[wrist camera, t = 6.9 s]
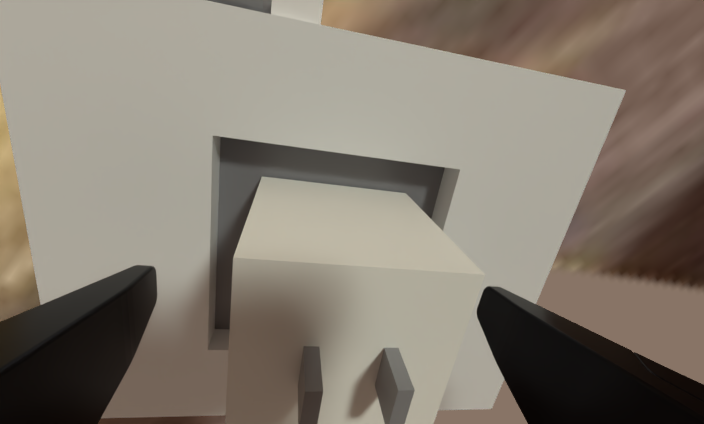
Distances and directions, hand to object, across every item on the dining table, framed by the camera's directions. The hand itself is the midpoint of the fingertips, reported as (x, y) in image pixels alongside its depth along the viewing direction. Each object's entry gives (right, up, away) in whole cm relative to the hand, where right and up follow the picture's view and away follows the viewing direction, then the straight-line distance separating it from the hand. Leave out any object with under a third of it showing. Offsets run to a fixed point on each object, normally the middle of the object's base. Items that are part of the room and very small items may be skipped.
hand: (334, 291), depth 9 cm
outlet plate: (0, +1, +2) cm, 3 cm away
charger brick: (0, +1, +2) cm, 2 cm away
